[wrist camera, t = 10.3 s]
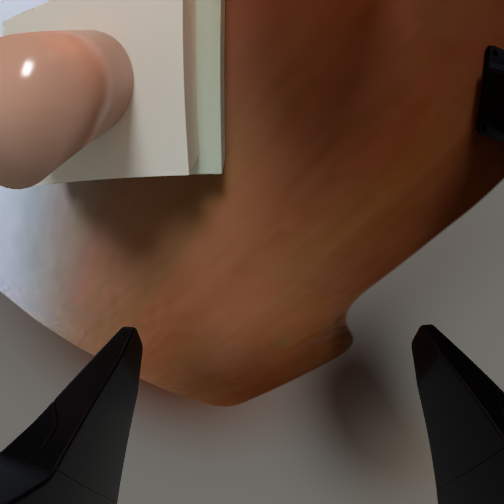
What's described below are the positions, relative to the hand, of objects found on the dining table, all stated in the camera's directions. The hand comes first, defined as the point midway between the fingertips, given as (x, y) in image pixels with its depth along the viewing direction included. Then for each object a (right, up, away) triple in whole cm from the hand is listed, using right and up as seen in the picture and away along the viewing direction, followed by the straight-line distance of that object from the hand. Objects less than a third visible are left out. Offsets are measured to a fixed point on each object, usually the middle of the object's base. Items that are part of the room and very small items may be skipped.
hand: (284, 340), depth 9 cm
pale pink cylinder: (-8, +10, +1) cm, 13 cm away
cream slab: (-8, +11, +4) cm, 14 cm away
